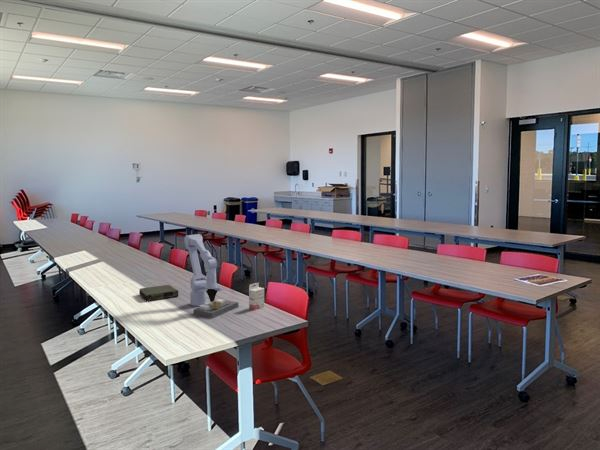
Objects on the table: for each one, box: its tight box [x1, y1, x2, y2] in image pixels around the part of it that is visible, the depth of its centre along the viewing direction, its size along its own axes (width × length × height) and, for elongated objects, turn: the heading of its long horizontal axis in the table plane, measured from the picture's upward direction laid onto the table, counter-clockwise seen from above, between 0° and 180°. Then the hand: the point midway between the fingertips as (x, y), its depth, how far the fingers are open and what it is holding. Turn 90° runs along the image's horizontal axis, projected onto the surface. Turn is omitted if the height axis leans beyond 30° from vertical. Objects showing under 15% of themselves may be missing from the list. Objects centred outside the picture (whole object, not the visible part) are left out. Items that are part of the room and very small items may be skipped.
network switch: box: [139, 284, 179, 302], centre depth 303 cm, size 23×24×5 cm
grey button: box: [198, 305, 209, 310], centre depth 261 cm, size 4×4×2 cm
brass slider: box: [212, 300, 220, 309], centre depth 260 cm, size 3×3×4 cm
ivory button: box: [215, 298, 226, 304], centre depth 274 cm, size 4×4×2 cm
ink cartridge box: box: [248, 282, 265, 311], centre depth 270 cm, size 9×5×15 cm, turn 141°
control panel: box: [192, 299, 239, 319], centre depth 266 cm, size 14×24×3 cm, turn 150°
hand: (212, 301), depth 267 cm, fingers closed
